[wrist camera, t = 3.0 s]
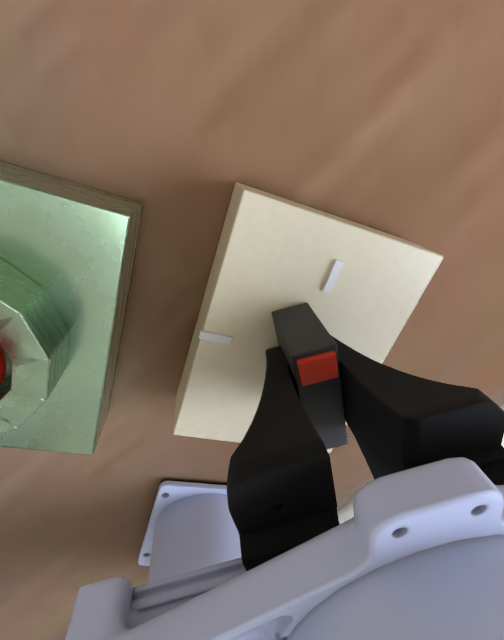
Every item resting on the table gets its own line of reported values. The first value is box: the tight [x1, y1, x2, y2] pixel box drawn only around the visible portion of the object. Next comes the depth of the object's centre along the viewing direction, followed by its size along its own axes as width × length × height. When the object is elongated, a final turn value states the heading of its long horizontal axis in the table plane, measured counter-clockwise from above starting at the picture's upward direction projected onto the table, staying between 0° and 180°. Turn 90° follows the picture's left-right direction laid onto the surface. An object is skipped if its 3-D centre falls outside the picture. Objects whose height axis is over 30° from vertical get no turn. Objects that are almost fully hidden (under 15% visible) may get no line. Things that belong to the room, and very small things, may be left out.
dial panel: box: [173, 182, 443, 453], centre depth 16 cm, size 12×9×3 cm
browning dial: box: [272, 303, 348, 449], centre depth 13 cm, size 5×2×4 cm, turn 13°
